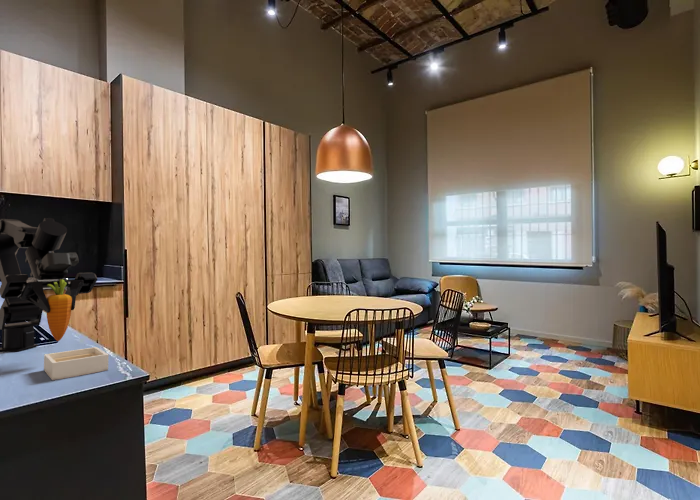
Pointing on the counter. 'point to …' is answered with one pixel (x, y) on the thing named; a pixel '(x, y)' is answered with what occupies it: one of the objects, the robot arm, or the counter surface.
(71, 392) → the counter surface
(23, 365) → the counter surface
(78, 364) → the beige open box
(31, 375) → the counter surface
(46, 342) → the counter surface
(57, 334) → the carrot
